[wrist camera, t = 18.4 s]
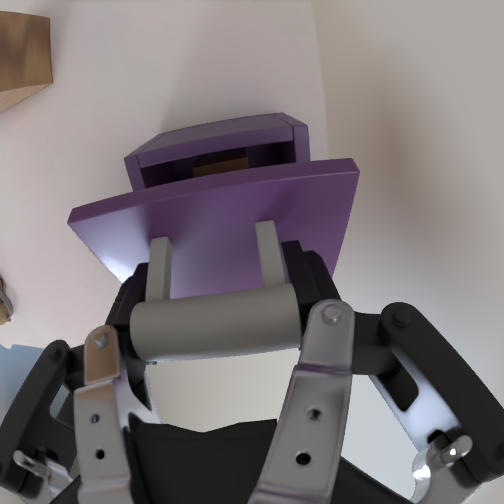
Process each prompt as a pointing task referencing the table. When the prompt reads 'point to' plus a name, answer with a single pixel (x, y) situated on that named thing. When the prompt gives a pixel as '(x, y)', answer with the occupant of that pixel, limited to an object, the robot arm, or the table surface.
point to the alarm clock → (5, 308)
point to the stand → (23, 57)
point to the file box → (218, 147)
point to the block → (220, 162)
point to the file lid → (220, 254)
